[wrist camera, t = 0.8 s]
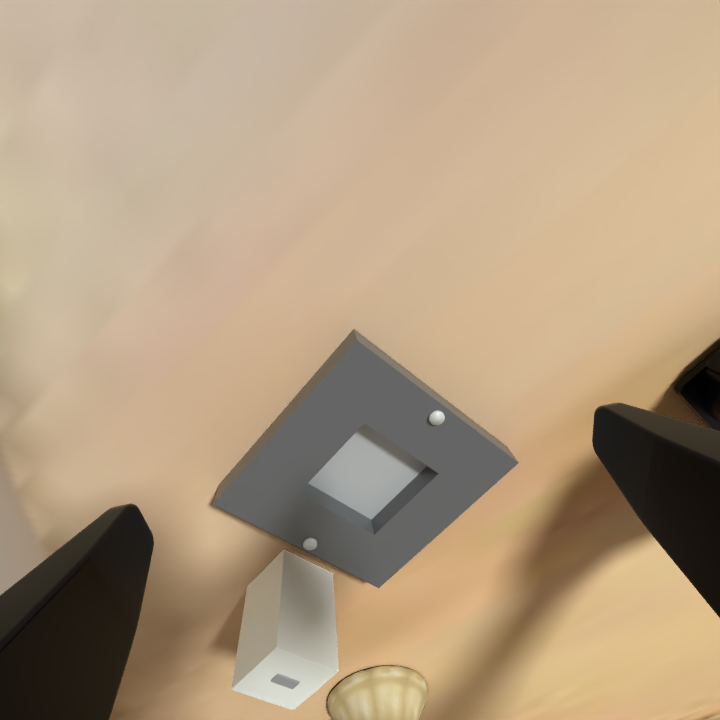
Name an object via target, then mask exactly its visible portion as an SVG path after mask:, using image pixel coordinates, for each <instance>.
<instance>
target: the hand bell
mask: <svg viewBox="0 0 720 720" xmlns="http://www.w3.org/2000/svg"><path fill="white" fill-rule="evenodd" d="M427 698H428V684H427V682H426V680H425V679H424V677H423V676H422V675H420V674H419V673H418V672H416V671H414V670H412V669H408V668H405V667H400V666H379V667H373V668H370V669H367V670H362V671H359V672H357V673H354V674H353V675H351V676H349V677H347V678H345V679H344V680H342V681H341V682H340V683H339V684H338V685H337V686H336V687H335V688H334V689H333V690H332V691H331V693H330V695H329V698H328V702H327V707H328V711H329V714H330V715H331V717H332V719H333V720H419V718H420V715H421V712H422V710H423V708H424V707H425V704H426V702H427Z"/></svg>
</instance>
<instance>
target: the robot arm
mask: <svg viewBox="0 0 720 720" xmlns="http://www.w3.org/2000/svg"><path fill="white" fill-rule="evenodd" d="M675 391H676V393H677V394H678V395H679V396H680V397H681V398H682V399H683V400H684V401H685V402H686V403H687V405H688V406H689V407H690V408H691V409H692V410H693V411H694V412H695V413H696V414H697V415H698V416H699V417H700V418H701V420H702V421H703V422H704V423H705V424H706V425H707V426H708V427H709V428H706V427H703V426H700V425H696V424H693V423H689V422H686V421H682V420H679V419H675V418H672V417H668V416H665V415H661V414H658V413H654V412H651V411H647V410H644V409H640V408H637V407H633V406H630V405H626V404H623V403H613V404H608V405H603V406H599V407H598V408H597V409H596V410H595V414H594V425H593V439H592V442H593V447H594V450H595V453H596V454H597V456H598V457H599V459H600V460H601V462H602V463H603V465H604V466H605V468H606V469H607V471H608V472H609V474H610V475H611V477H612V478H613V480H614V481H615V483H616V485H617V486H618V488H619V489H620V491H621V492H622V494H623V495H624V497H625V498H626V500H627V501H628V503H629V504H630V506H631V507H632V509H633V510H634V511H635V513H636V514H637V516H638V517H639V519H640V520H641V521H642V523H643V524H644V525H645V526H646V528H647V529H648V530H649V532H650V533H651V534H652V535H653V537H654V538H655V539H656V540H657V541H658V543H659V544H660V545H661V546H662V548H663V549H664V550H665V551H666V553H667V554H668V555H669V556H670V557H671V559H672V560H673V561H674V562H675V564H676V565H677V566H678V567H679V568H680V570H681V571H682V572H683V573H684V575H685V576H686V577H687V578H688V579H689V581H690V582H691V583H692V584H693V586H694V587H695V588H696V589H697V591H698V592H699V593H700V594H701V595H702V597H703V598H704V599H705V600H706V602H707V603H708V604H709V605H710V606H711V608H712V609H713V610H714V611H715V613H716V614H717V615H718V616H719V618H720V347H719V348H717V349H716V350H715V351H714V352H713V353H712V354H710V355H709V356H708V357H707V358H706V359H705V360H703V361H702V362H701V363H700V364H699V365H697V366H696V367H695V368H694V369H693V370H692V371H690V372H689V373H688V374H687V375H686V376H685V377H683V378H682V379H681V380H680V381H679V382H678V383H677V384H676V386H675ZM153 545H154V541H153V535H152V533H151V531H150V529H149V527H148V525H147V523H146V521H145V519H144V517H143V515H142V514H141V512H140V510H139V508H138V507H137V506H136V505H134V504H127V505H122V506H117V507H113V508H110V509H109V510H107V511H106V512H105V513H104V514H102V515H101V516H100V517H99V518H97V519H96V520H95V521H93V522H92V523H91V524H90V525H88V526H87V527H86V528H85V529H83V530H82V531H81V532H80V533H78V534H77V535H76V536H75V537H73V538H72V539H71V540H70V541H68V542H67V543H66V544H65V545H63V546H62V547H61V548H60V549H58V550H57V551H56V552H54V553H53V554H52V555H51V556H49V557H48V558H47V559H46V560H44V561H43V562H42V563H41V564H39V565H38V566H37V567H36V568H34V569H33V570H32V571H31V572H29V573H28V574H27V575H26V576H25V577H23V578H22V579H21V580H19V581H18V582H17V583H15V584H14V585H13V586H12V587H11V588H9V589H8V590H7V591H5V592H4V593H3V594H2V595H1V596H0V720H109V719H110V715H111V712H112V709H113V706H114V702H115V699H116V696H117V693H118V689H119V686H120V683H121V679H122V676H123V673H124V670H125V666H126V663H127V660H128V656H129V653H130V650H131V647H132V643H133V640H134V636H135V632H136V629H137V625H138V620H139V616H140V611H141V606H142V601H143V596H144V591H145V586H146V581H147V576H148V571H149V566H150V561H151V556H152V552H153Z"/></svg>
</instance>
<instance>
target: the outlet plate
mask: <svg viewBox="0 0 720 720" xmlns="http://www.w3.org/2000/svg"><path fill="white" fill-rule="evenodd" d="M517 464H518V461H517V460H516V458H515V457H514V456H513V454H512V453H511V451H510V450H509V449H508V447H507V446H505V445H504V444H503V443H501V442H500V441H499V440H498V439H496V438H495V437H494V436H492V435H491V434H490V433H488V432H487V431H486V430H485V429H483V428H482V427H481V426H479V425H478V424H477V423H475V422H474V421H473V420H472V419H470V418H469V417H468V416H466V415H465V414H464V413H462V412H461V411H460V410H459V409H457V408H456V407H455V406H453V405H452V404H451V403H449V402H448V401H447V400H446V399H444V398H443V397H442V396H440V395H439V394H438V393H436V392H435V391H434V390H433V389H431V388H430V387H429V386H427V385H426V384H425V383H423V382H422V381H421V380H420V379H418V378H417V377H416V376H414V375H413V374H412V373H410V372H409V371H408V370H407V369H405V368H404V367H403V366H401V365H400V364H399V363H397V362H396V361H395V360H393V359H392V358H391V357H390V356H388V355H387V354H386V353H384V352H383V351H382V350H380V349H379V348H378V347H377V346H375V345H374V344H373V343H371V342H370V341H369V340H367V339H366V338H365V337H364V336H362V335H361V334H360V333H358V332H357V331H356V330H353V331H352V332H351V333H350V334H349V335H348V337H347V338H346V339H345V340H344V341H343V342H342V344H341V345H340V346H339V347H338V348H337V349H336V350H335V352H334V353H333V354H332V355H331V356H330V357H329V359H328V360H327V361H326V362H325V363H324V364H323V365H322V367H321V368H320V369H319V370H318V371H317V372H316V374H315V375H314V376H313V377H312V378H311V379H310V381H309V382H308V383H307V384H306V385H305V386H304V387H303V389H302V390H301V391H300V392H299V393H298V394H297V396H296V397H295V398H294V399H293V400H292V401H291V402H290V404H289V405H288V406H287V407H286V408H285V409H284V411H283V412H282V413H281V414H280V415H279V416H278V417H277V419H276V420H275V421H274V422H273V423H272V424H271V426H270V427H269V428H268V429H267V430H266V431H265V433H264V434H263V435H262V436H261V437H260V438H259V439H258V441H257V442H256V443H255V444H254V445H253V446H252V448H251V449H250V450H249V451H248V452H247V453H246V454H245V456H244V457H243V458H242V459H241V460H240V461H239V463H238V464H237V465H236V466H235V467H234V468H233V470H232V471H231V472H230V473H229V474H228V475H227V476H226V478H225V479H224V480H223V481H222V482H221V483H220V485H219V486H218V489H217V493H216V496H215V499H214V503H213V505H215V506H217V507H219V508H221V509H223V510H225V511H227V512H229V513H231V514H233V515H235V516H237V517H239V518H241V519H243V520H245V521H247V522H249V523H251V524H252V525H254V526H256V527H258V528H260V529H262V530H264V531H266V532H268V533H270V534H272V535H274V536H276V537H278V538H280V539H282V540H284V541H286V542H288V543H290V544H292V545H294V546H296V547H298V548H300V549H302V550H304V551H306V552H308V553H310V554H312V555H314V556H316V557H318V558H320V559H322V560H324V561H326V562H328V563H330V564H332V565H334V566H336V567H338V568H340V569H342V570H344V571H346V572H348V573H350V574H352V575H354V576H356V577H358V578H360V579H362V580H364V581H366V582H368V583H370V584H372V585H374V586H376V587H378V588H380V587H381V586H382V585H383V584H384V583H385V582H386V581H387V580H388V579H390V578H391V577H392V576H393V575H394V574H395V573H396V572H397V571H398V570H400V569H401V568H402V567H403V566H404V565H405V564H406V563H407V562H409V561H410V560H411V559H412V558H413V557H414V556H415V555H416V554H417V553H419V552H420V551H421V550H422V549H423V548H424V547H425V546H426V545H427V544H429V543H430V542H431V541H432V540H433V539H434V538H435V537H436V536H438V535H439V534H440V533H441V532H442V531H443V530H444V529H445V528H446V527H448V526H449V525H450V524H451V523H452V522H453V521H454V520H455V519H456V518H458V517H459V516H460V515H461V514H462V513H463V512H464V511H465V510H467V509H468V508H469V507H470V506H471V505H472V504H473V503H474V502H475V501H477V500H478V499H479V498H480V497H481V496H482V495H483V494H484V493H486V492H487V491H488V490H489V489H490V488H491V487H492V486H493V485H494V484H496V483H497V482H498V481H499V480H500V479H501V478H502V477H503V476H504V475H506V474H507V473H508V472H509V471H510V470H511V469H512V468H513V467H515V466H516V465H517Z"/></svg>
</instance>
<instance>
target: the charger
mask: <svg viewBox="0 0 720 720" xmlns="http://www.w3.org/2000/svg"><path fill="white" fill-rule="evenodd" d="M338 672H339V668H338V650H337V632H336V614H335V597H334V579H333V573H331V572H329V571H327V570H325V569H323V568H321V567H319V566H317V565H315V564H313V563H311V562H309V561H307V560H305V559H303V558H301V557H299V556H297V555H295V554H293V553H291V552H289V551H287V550H285V549H283V550H282V551H281V553H280V554H279V555H278V556H277V557H276V558H275V559H274V560H273V561H272V562H271V563H270V564H269V565H268V566H267V567H266V568H265V569H264V570H263V571H262V572H261V573H260V574H259V575H258V576H257V577H256V578H255V579H254V580H253V581H252V582H251V583H250V584H249V585H248V586H247V591H246V597H245V604H244V610H243V617H242V623H241V630H240V636H239V642H238V649H237V655H236V662H235V668H234V675H233V681H232V688H231V690H234V691H237V692H240V693H243V694H246V695H249V696H252V697H255V698H258V699H261V700H264V701H267V702H270V703H273V704H276V705H279V706H282V707H285V708H288V709H291V710H294V709H295V708H297V707H298V706H299V705H300V704H301V703H302V702H304V701H305V700H306V699H307V698H308V697H309V696H311V695H312V694H313V693H314V692H315V691H316V690H318V689H319V688H320V687H321V686H322V685H324V684H325V683H326V682H327V681H328V680H329V679H331V678H332V677H333V676H334V675H335V674H336V673H338Z"/></svg>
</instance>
